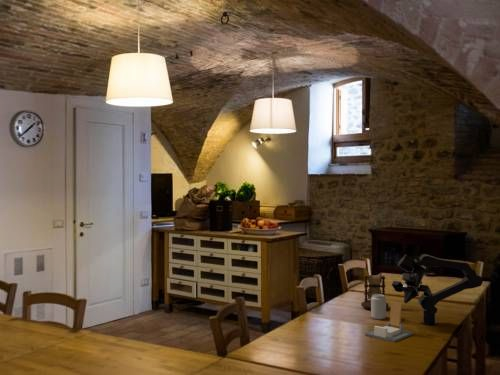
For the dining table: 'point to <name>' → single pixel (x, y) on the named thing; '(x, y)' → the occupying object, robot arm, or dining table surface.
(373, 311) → the can
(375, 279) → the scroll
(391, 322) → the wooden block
